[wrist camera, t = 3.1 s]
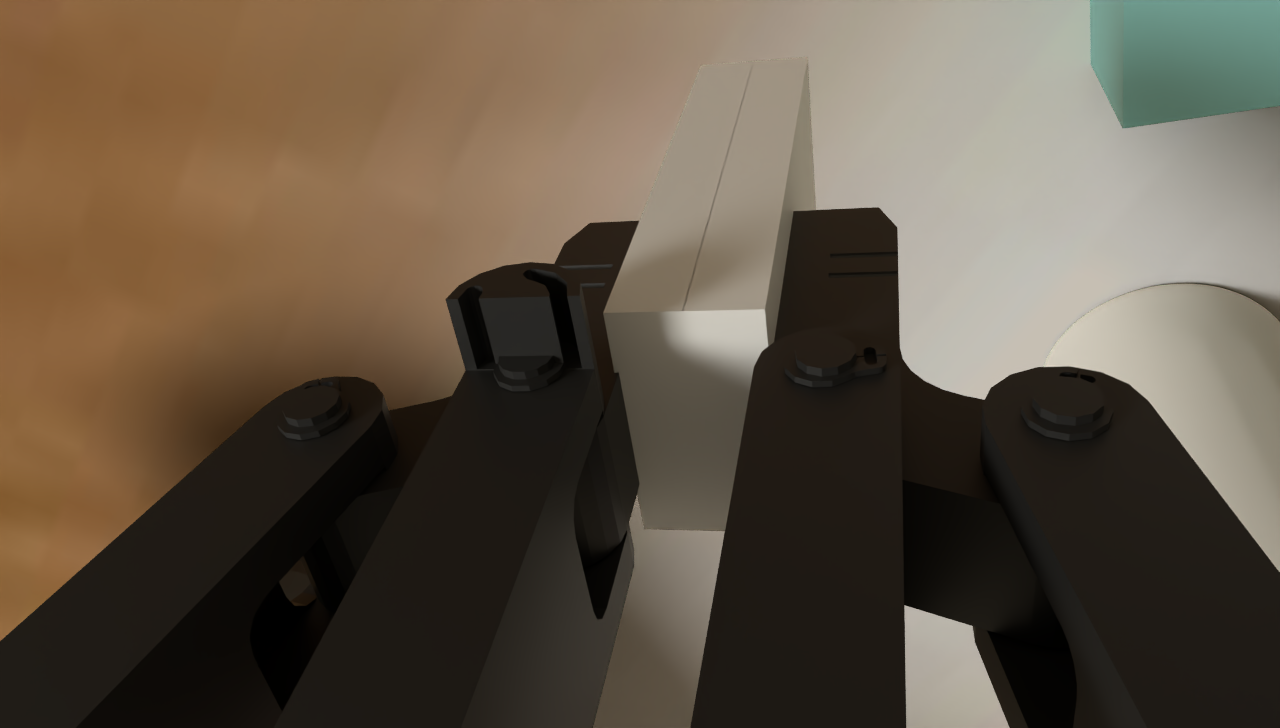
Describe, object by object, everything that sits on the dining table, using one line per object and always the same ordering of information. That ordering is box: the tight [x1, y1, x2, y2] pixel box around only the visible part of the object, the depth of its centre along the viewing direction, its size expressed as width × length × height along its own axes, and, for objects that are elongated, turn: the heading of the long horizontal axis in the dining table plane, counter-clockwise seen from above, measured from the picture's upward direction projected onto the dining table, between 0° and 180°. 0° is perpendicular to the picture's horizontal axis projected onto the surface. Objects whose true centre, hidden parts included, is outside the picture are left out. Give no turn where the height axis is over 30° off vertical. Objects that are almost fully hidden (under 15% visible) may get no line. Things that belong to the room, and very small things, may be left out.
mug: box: [1043, 284, 1280, 572], centre depth 24 cm, size 10×7×12 cm, turn 0°
